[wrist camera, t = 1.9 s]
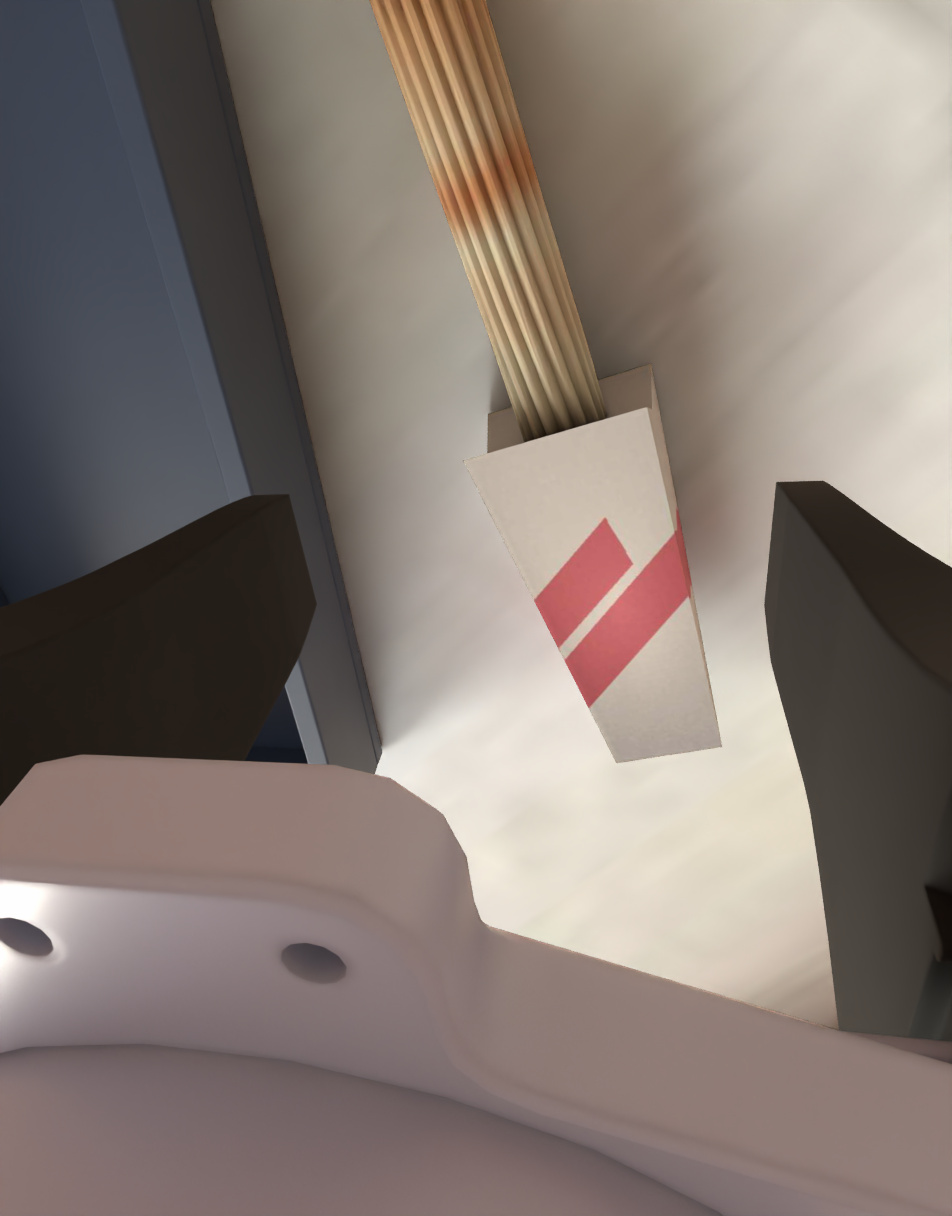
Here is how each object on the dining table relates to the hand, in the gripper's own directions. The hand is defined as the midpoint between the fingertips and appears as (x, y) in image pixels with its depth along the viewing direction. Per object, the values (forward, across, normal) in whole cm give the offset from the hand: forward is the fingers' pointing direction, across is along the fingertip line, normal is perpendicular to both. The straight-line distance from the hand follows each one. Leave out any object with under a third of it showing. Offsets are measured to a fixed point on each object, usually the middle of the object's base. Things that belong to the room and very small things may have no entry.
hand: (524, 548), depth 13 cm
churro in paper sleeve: (+8, 0, 0) cm, 8 cm away
